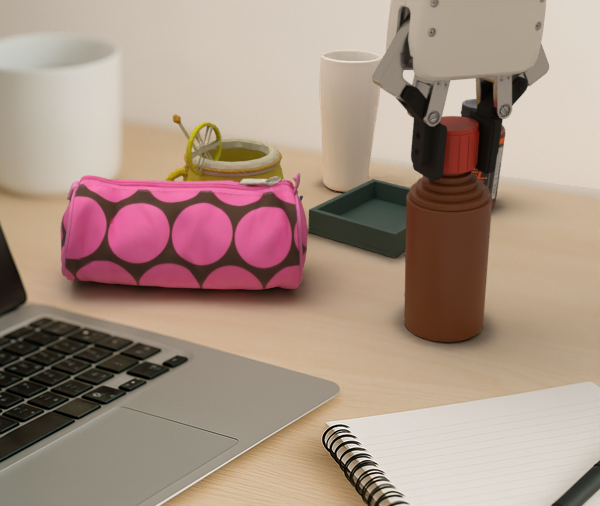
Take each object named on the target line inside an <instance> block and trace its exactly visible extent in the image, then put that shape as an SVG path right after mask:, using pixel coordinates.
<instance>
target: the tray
mask: <svg viewBox="0 0 600 506" xmlns="http://www.w3.org/2000/svg"><path fill="white" fill-rule="evenodd" d="M410 188H411V187H408V186H404V185H399V184H396V183H391V182H387V181H384V180H379V179H377V178H372V179H370V180H368V182H366V183H364V184H361V185H359V186H357V187H355V188H353V189H351V190H349V191H347V192H342V193H341V194H338V195H337V196H334V197H333V198H330V199H328V200H326V201H324V202H321V203H320V204H317V205H316V206H313V207H312V208H309V209H308V229H307V233H310V234H313V235H317V236H319V237H323V238H327V239H330V240H333V241H336V242H339V243H342V244H346V245H349V246H353V247H356V248H360V249H363V250H367V251H369V252H373V253H376V254H380V255H382V256H385V257H389V258H393V259H394V258H396V257H398V256H400V255H401V254H403V253H405V252H406V198H407V194H408V192H409V191H410Z"/></svg>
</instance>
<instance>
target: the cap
mask: <svg viewBox="0 0 600 506" xmlns="http://www.w3.org/2000/svg"><path fill="white" fill-rule="evenodd" d="M440 123H441V124H443V125H445V126H446V127H447V139H446V149H445V159H444V169H443V174H460V173H466V172H469V171H471V170H473V169H474V168H475V167H476V164H477V158H478V142H479V131H478V128H479V123H478V122H477V121H476V120H474V119H471V118H467V117H461V115H460V116H459V115H446V116H442V118H441V121H440Z"/></svg>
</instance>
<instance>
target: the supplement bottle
mask: <svg viewBox="0 0 600 506" xmlns="http://www.w3.org/2000/svg"><path fill="white" fill-rule="evenodd" d="M470 110H477V104H476V98H470V99H466V100H463V102H462V103H461V110H460V117H467V118H468V116H469V114H470ZM505 139H506V128H505V126H504V125H503V124H502V128H501V136H500V144H499V151H498V155H497V158H496V165H495V171H494V172H493V173H489V174H485V173H483V172H482V171H480V170H478V169H476V168H474V169H473V170H471V171H472V173H474V174H475V175H476V176H477V178H478V179H480V180H481V181H482V182H483V184H484V185H486V186H487V187H488V189H489V191H490V194H491V196H492V207H494V206H495V204H496V201H497V196H498V188H499V182H500V175H501V167H502V161H503V155H504V154H503V153H504V147H505V141H506V140H505Z"/></svg>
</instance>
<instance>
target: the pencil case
mask: <svg viewBox="0 0 600 506" xmlns="http://www.w3.org/2000/svg"><path fill="white" fill-rule="evenodd" d="M292 179H293V181H294V183H293V182H292V181H291V180H288V179H285V178H284V179H282V180H281V179H280V178H279V177H278V176H274V177H271V178H269V180H268V179H243V180H242V181H241V182H240V181H229V180H228V181H195V182H193V181H183V180H174V181H165V180H151V179H150V180H147V179H118V178H117V179H115V178H110V179H109V178H105V177H102V176H97V175H93V174H92V175H90V174H88V175H84V176H82V177H80V179H79V181H78V180H75V181H73V182H72V183H71V185H70V188H69V191H68V193H67V198H66V200H67V201H69V202H68V205H67V207H66V209H65V211H64V213H63V215H62V218H61V221H60V262H61V268H60V270H61V275H62V276H63V277H66V278H65V279H67V280H68V281H70V282H76V281H79V282H95V283H103V284H107V285H113V284H114V285H117V284H118V285H119V284H120V285H127V286H141V287H142V286H143V287H161V288H172V289H173V288H175V289H176V288H177V289H203V290H209V289H210V290H247V291H261V290H268V289H271V288H276V287H277V288H281V289H287V290H296V289H298V288H299V286H301V284H302V282H303V276H304V267H305V263H306V259H307V251H308V224H307V215H306V213H305V208H304V205H303V202H302V201H303V198H304V196H303V195H300V196H299V191H298V189H299V186H300V183H301V172H296V173H295V174H294V175H293V177H292Z"/></svg>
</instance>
